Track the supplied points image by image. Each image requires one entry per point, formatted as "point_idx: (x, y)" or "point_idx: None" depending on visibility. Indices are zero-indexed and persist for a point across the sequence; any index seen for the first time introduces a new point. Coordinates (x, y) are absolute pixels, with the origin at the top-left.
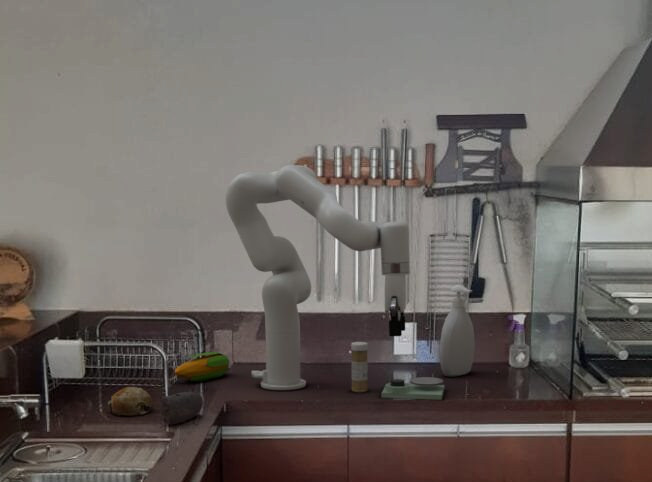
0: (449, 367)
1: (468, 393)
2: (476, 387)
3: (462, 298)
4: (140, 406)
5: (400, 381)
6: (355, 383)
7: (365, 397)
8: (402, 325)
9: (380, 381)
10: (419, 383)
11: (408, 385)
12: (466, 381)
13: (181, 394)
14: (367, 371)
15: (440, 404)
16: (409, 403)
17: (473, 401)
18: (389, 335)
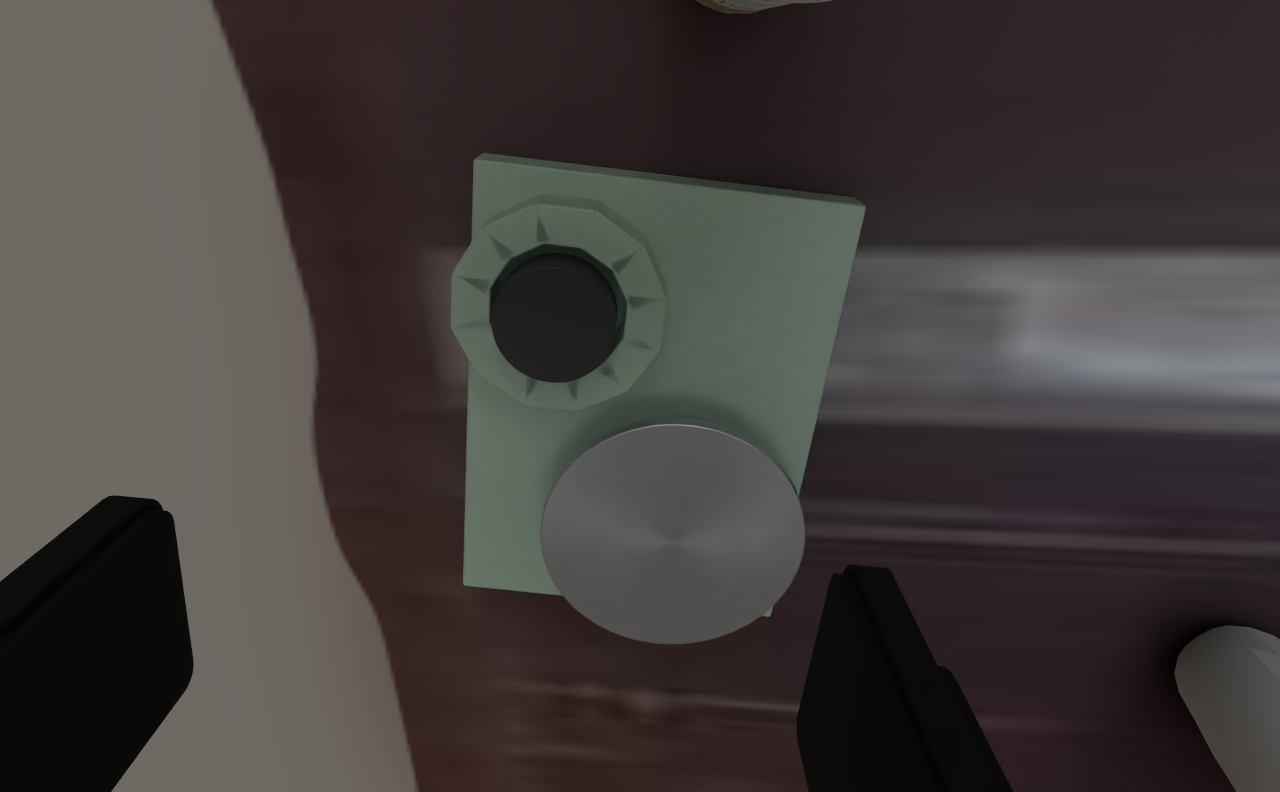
0: (1193, 702)
1: (671, 709)
2: None
3: None
4: None
5: (517, 350)
6: None
7: (485, 2)
8: (818, 775)
9: (1151, 132)
10: (554, 487)
11: (543, 399)
12: (1022, 724)
13: None
14: (748, 7)
15: (348, 552)
16: (335, 367)
17: (461, 716)
18: (113, 496)
